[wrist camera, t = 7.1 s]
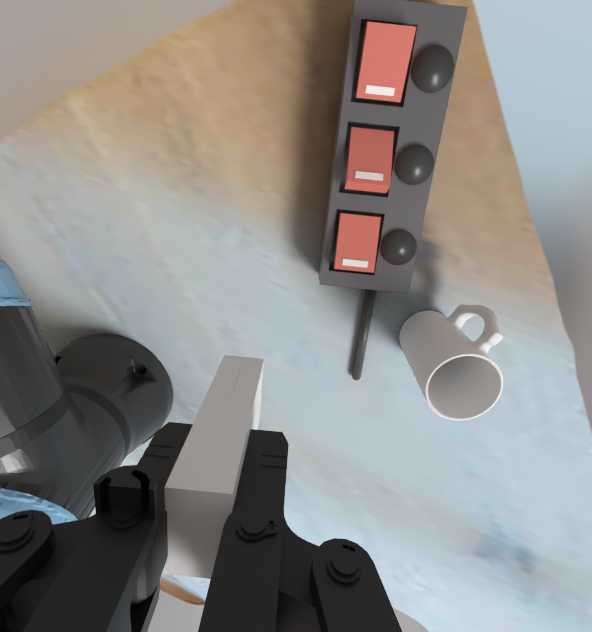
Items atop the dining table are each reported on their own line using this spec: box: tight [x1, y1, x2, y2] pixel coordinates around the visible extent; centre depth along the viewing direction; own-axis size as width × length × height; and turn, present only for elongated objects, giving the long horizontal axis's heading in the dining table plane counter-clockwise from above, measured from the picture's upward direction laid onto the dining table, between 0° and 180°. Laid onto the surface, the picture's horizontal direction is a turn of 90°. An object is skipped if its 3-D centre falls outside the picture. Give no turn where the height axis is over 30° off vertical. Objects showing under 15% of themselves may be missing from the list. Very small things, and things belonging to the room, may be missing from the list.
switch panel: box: [319, 0, 468, 380], centre depth 39 cm, size 9×36×5 cm, turn 174°
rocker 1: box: [355, 22, 416, 102], centre depth 32 cm, size 4×5×2 cm
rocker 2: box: [345, 127, 394, 193], centre depth 35 cm, size 4×5×2 cm
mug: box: [399, 305, 503, 420], centre depth 40 cm, size 10×7×12 cm, turn 149°
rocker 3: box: [333, 213, 381, 273], centre depth 38 cm, size 4×5×2 cm
